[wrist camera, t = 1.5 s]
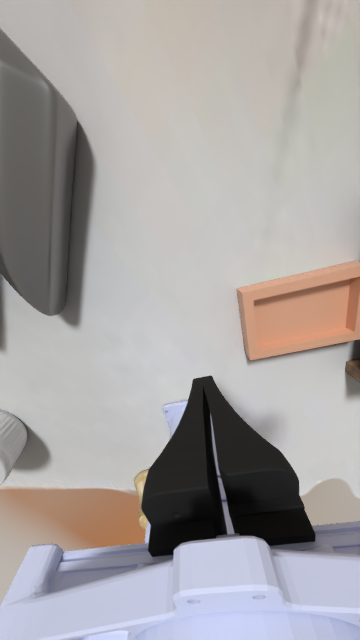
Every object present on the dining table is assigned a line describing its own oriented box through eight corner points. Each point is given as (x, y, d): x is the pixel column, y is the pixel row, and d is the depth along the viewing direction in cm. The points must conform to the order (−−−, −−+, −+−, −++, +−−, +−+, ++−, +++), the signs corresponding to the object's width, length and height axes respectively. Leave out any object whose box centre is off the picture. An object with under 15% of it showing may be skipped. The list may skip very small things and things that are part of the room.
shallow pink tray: (348, 330, 22) (363, 338, 20) (244, 351, 23) (250, 360, 21) (355, 260, 19) (374, 262, 17) (236, 288, 20) (242, 293, 18)
